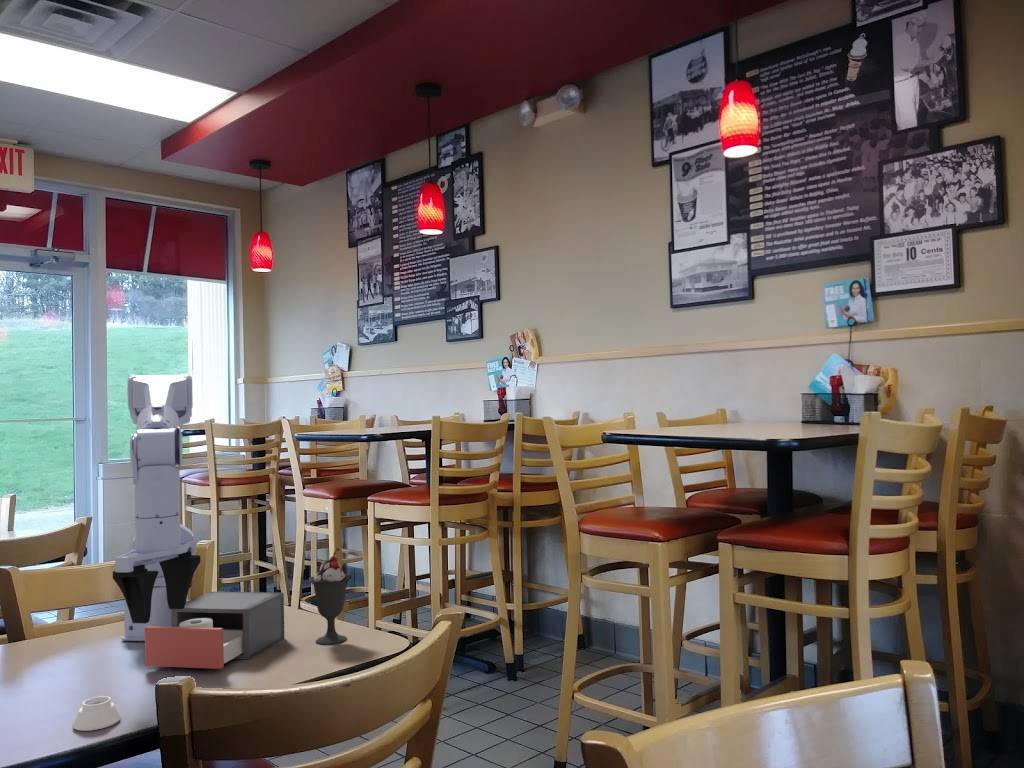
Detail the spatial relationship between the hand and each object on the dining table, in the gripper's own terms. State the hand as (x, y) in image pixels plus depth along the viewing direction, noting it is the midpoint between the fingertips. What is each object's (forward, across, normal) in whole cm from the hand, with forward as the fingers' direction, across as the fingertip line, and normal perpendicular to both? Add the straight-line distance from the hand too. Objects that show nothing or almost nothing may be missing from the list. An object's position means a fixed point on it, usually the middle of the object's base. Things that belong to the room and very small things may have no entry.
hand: (159, 615), depth 109 cm
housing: (+9, +18, 0) cm, 20 cm away
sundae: (+10, +23, -14) cm, 29 cm away
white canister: (+8, +9, 0) cm, 12 cm away
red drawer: (+9, +11, 0) cm, 14 cm away
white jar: (+10, -13, -1) cm, 17 cm away
